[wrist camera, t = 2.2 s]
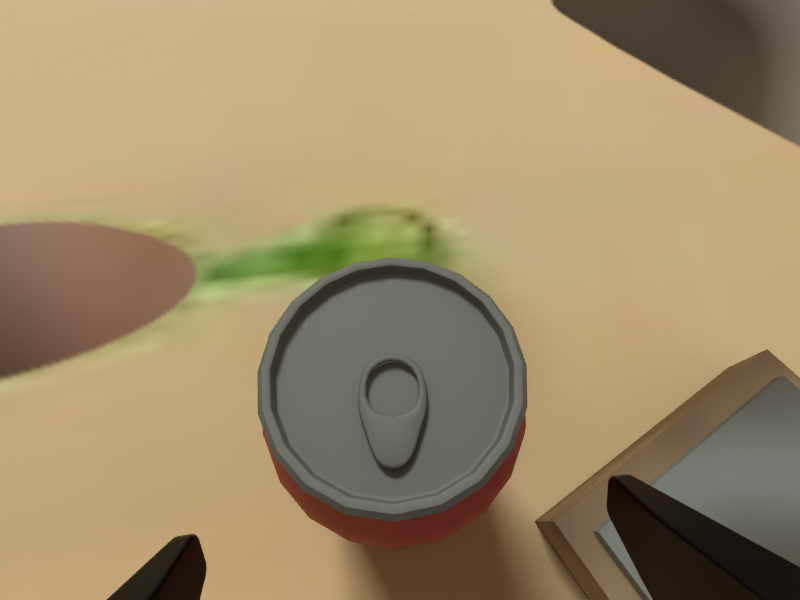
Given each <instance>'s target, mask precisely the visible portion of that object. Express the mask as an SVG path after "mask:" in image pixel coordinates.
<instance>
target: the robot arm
mask: <svg viewBox="0 0 800 600" xmlns="http://www.w3.org/2000/svg"><path fill="white" fill-rule="evenodd" d="M606 506H607V512H608V515H609V517H610V519H611V521H612V523H613V525H614V527H615V529H616V531H617V533H618V535H619V537H620V539H621V541H622V543H623V545H624V547H625V548H626V550H627V552H628V554H629V556H630V558H631V560H632V562H633V564H634V566H635V568H636V570H637V572H638V574H639V576H640V578H641V580H642V581H643V583H644V585H645V587H646V589H647V591H648V592H649V594H650V596H651V597H652V599H653V600H800V567H799V566H797V565H796V564H794V563H792V562H790V561H788V560H786V559H785V558H783V557H781V556H779V555H777V554H775V553H774V552H772V551H770V550H768V549H766V548H764V547H763V546H761V545H759V544H757V543H755V542H753V541H751V540H750V539H748V538H746V537H744V536H742V535H740V534H739V533H737V532H735V531H733V530H731V529H729V528H728V527H726V526H724V525H722V524H720V523H718V522H717V521H715V520H713V519H711V518H709V517H707V516H706V515H704V514H702V513H700V512H698V511H696V510H695V509H693V508H691V507H689V506H687V505H685V504H683V503H682V502H680V501H678V500H676V499H674V498H672V497H671V496H669V495H667V494H665V493H663V492H661V491H660V490H658V489H656V488H654V487H652V486H650V485H649V484H647V483H645V482H643V481H641V480H639V479H638V478H636V477H634V476H632V475H630V474H621V475H613V476H611V477H610V478H609V480H608V489H607V503H606ZM205 576H206V561H205V558H204V554H203V551H202V548H201V544H200V541H199V538H198V537H197V535H195V534H189V535H182V536H177V537H175V538H173V539H172V540H171V541H170V542H169V543H168V544H166V545H165V546H164V547H163V548H162V549H161V550H160V551H159V552H158V553H157V554H156V555H155V556H153V557H152V558H151V559H150V560H149V561H148V562H147V563H146V564H145V565H144V566H143V567H142V568H140V569H139V570H138V571H137V572H136V573H135V574H134V575H133V576H132V577H131V578H130V579H129V580H128V581H126V582H125V583H124V584H123V585H122V586H121V587H120V588H119V589H118V590H117V591H116V592H115V593H113V594H112V595H111V596H110V597H109V598H108V599H107V600H200V597H201V593H202V589H203V584H204V580H205Z"/></svg>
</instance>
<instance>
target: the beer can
mask: <svg viewBox="0 0 800 600" xmlns="http://www.w3.org/2000/svg"><path fill="white" fill-rule="evenodd" d="M526 409H527V370H526V363H525V360H524V357H523V354H522V351H521V348H520V345H519V343H518V340H517V337H516V334H515V331H514V328H513V327H512V325H511V324H510V323H509V321H508V320H507V318H506V317H505V316H504V314H503V313H502V312H501V310H500V309H499V308H498V306H497V305H496V304H495V302H494V301H493V300H492V298H491V297H490V296H489V295H487V294H486V293H485V292H483V291H482V290H481V289H479V288H478V287H477V286H475V285H474V284H473V283H471V282H470V281H469V280H467V279H466V278H465V277H463V276H462V275H460V274H458V273H455V272H453V271H450V270H448V269H445V268H442V267H440V266H437V265H435V264H432V263H430V262H427V261H418V260H409V259H399V258H385V259H378V260H372V261H365V262H359V263H354V264H352V265H349V266H347V267H345V268H342V269H340V270H338V271H336V272H333V273H331V274H329V275H327V276H324V277H322V278H320V279H319V280H318V281H317V282H315V283H314V284H313V285H312V286H311V287H309V288H308V289H307V290H306V291H304V292H303V293H302V294H301V295H299V296H298V297H297V298H296V299H295V300H293V301H292V302H291V304H290V305H289V306H288V308H287V309H286V311H285V312H284V314H283V315H282V317H281V318H280V319H279V321H278V322H277V324H276V325H275V327H274V328H273V330H272V331H271V332H270V334H269V337H268V341H267V344H266V347H265V350H264V353H263V356H262V359H261V363H260V366H259V369H258V415H259V418H260V421H261V423H262V426H263V436H264V438H265V441H266V444H267V447H268V449H269V452H270V455H271V458H272V461H273V463H274V466H275V469H276V472H277V475H278V477H279V480H280V483H281V484H282V485H283V486H284V488H285V489H286V490H287V491H288V492H289V494H290V495H291V496H292V497H293V499H294V500H295V501H296V502H297V503H298V505H299V506H300V507H301V508H302V510H303V511H304V512H305V513H306V514H307V516H308V517H309V518H311V519H312V520H314V521H316V522H317V523H319V524H321V525H323V526H324V527H326V528H328V529H330V530H331V531H333V532H335V533H336V534H338V535H340V536H342V537H343V538H345V539H347V540H349V541H352V542H358V543H364V544H370V545H377V546H383V547H389V548H395V549H398V548H403V547H407V546H412V545H417V544H421V543H426V542H431V541H436V540H440V539H444V538H446V537H447V536H449V535H450V534H452V533H453V532H455V531H456V530H458V529H460V528H461V527H463V526H464V525H466V524H467V523H469V522H470V521H472V520H474V519H475V518H477V517H478V516H480V515H481V514H483V513H484V512H485V510H486V509H487V508H488V506H489V505H490V504H491V502H492V501H493V500H494V498H495V497H496V496H497V494H498V493H499V492H500V490H501V489H502V488H503V486H504V485H505V484H506V482H507V481H508V480H509V479H510V477H511V475H512V471H513V468H514V465H515V462H516V459H517V456H518V453H519V450H520V447H521V443H522V440H523V437H524V433H525V428H526V419H525V412H526Z"/></svg>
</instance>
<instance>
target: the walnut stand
mask: <svg viewBox="0 0 800 600" xmlns="http://www.w3.org/2000/svg"><path fill="white" fill-rule="evenodd" d="M621 474H630V475H632V476H634V477H636V478H638V479H639V480H641V481H643V482H645V483H647V484H649V485H650V486H652V487H654V488H656V489H658V490H660V491H661V492H663V493H665V494H667V495H669V496H671V497H672V498H674V499H676V500H678V501H680V502H682V503H683V504H685V505H687V506H689V507H691V508H693V509H695V510H696V511H698V512H700V513H702V514H704V515H706V516H707V517H709V518H711V519H713V520H715V521H717V522H718V523H720V524H722V525H724V526H726V527H728V528H729V529H731V530H733V531H735V532H737V533H739V534H740V535H742V536H744V537H746V538H748V539H750V540H751V541H753V542H755V543H757V544H759V545H761V546H763V547H764V548H766V549H768V550H770V551H772V552H774V553H775V554H777V555H779V556H781V557H783V558H785V559H786V560H788V561H790V562H792V563H794V564H796V565H797V566H799V567H800V378H799V377H798V376H797V375H796V374H795V373H794V372H793V371H791V370H790V369H789V368H788V367H787V366H786V365H785V364H783V363H782V362H781V361H780V360H779V359H778V358H776V357H775V356H774V355H773V354H772V353H771V352H770V351H768V350H765V351H763V352H760V353H758V354H756V355H754V356H752V357H750V358H748V359H746V360H743V361H741V362H739V363H737V364H735V365H733V366H731V367H728V368H727V369H726V370H725V371H723V372H722V373H721V374H720V375H718V376H717V377H716V378H715V379H713V380H712V381H711V382H710V383H708V384H707V385H706V386H705V387H703V388H702V389H701V390H700V391H698V392H697V393H696V394H694V395H693V396H692V397H691V398H689V399H688V400H687V401H686V402H684V403H683V404H682V405H681V406H679V407H678V408H677V409H676V410H674V411H673V412H672V413H671V414H669V415H668V416H667V417H666V418H664V419H663V420H662V421H661V422H659V423H658V424H657V425H656V426H654V427H653V428H652V429H650V430H649V431H648V432H647V433H645V434H644V435H643V436H642V437H640V438H639V439H638V440H637V441H635V442H634V443H633V444H632V445H630V446H629V447H628V448H627V449H625V450H624V451H623V452H622V453H620V454H619V455H618V456H617V457H615V458H614V459H613V460H611V461H610V462H609V463H608V464H606V465H605V466H604V467H603V468H601V469H600V470H599V471H598V472H596V473H595V474H594V475H593V476H591V477H590V478H589V479H588V480H586V481H585V482H584V483H583V484H581V485H580V486H579V487H578V488H576V489H575V490H574V491H573V492H571V493H570V494H569V495H567V496H566V497H565V498H564V499H562V500H561V501H560V502H559V503H557V504H556V505H555V506H554V507H552V508H551V509H550V510H549V511H547V512H546V513H545V514H544V515H542V516H541V517H540V518H539V519H537V520H536V521H535V522H536V523H537V525H538V526H539V528H540V529H541V531H542V532H543V534H544V535H545V536H546V538H547V539H548V541H549V542H550V544H551V545H552V547H553V548H554V549H555V551H556V552H557V554H558V555H559V557H560V558H561V560H562V561H563V562H564V564H565V565H566V567H567V568H568V570H569V571H570V573H571V574H572V575H573V577H574V578H575V580H576V581H577V583H578V584H579V586H580V587H581V588H582V590H583V591H584V593H585V594H586V596H587V597H588V599H589V600H653V599H652V597H651V596H650V594H649V592H648V591H647V589H646V587H645V585H644V583H643V581H642V580H641V578H640V576H639V574H638V572H637V570H636V568H635V566H634V564H633V562H632V560H631V558H630V556H629V554H628V552H627V550H626V548H625V547H624V545H623V543H622V541H621V539H620V537H619V535H618V533H617V531H616V529H615V527H614V525H613V523H612V521H611V519H610V517H609V515H608V512H607V506H606V503H607V489H608V480H609V478H610V477H611V476H613V475H621Z"/></svg>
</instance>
